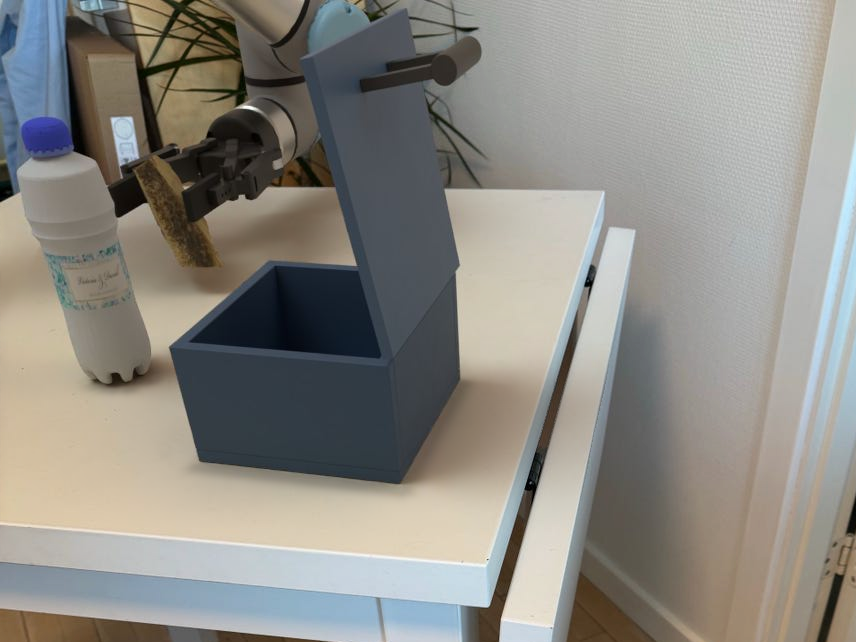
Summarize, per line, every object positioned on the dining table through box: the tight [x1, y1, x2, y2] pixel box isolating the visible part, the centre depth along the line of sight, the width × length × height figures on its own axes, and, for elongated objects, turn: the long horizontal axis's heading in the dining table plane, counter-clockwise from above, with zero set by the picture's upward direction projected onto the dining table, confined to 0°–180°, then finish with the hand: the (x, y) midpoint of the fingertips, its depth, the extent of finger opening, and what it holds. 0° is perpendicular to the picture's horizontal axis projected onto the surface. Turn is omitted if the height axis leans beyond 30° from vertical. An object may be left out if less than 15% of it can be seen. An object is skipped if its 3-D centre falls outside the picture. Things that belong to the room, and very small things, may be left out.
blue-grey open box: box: [168, 259, 461, 485], centre depth 70 cm, size 16×17×9 cm
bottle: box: [16, 116, 152, 385], centre depth 73 cm, size 7×7×20 cm
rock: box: [134, 155, 225, 269], centre depth 92 cm, size 11×9×10 cm
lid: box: [300, 7, 483, 359], centre depth 59 cm, size 17×17×7 cm
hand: (150, 205), depth 87 cm, fingers closed on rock, 7 cm apart
